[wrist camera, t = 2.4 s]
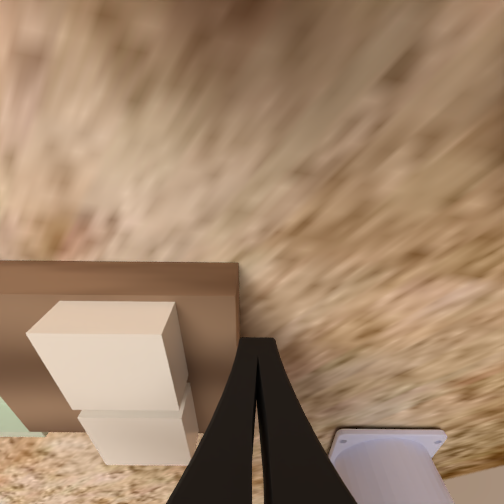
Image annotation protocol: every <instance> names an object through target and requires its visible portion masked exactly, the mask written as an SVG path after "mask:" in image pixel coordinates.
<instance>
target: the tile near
mask: <svg viewBox="0 0 504 504" xmlns="http://www.w3.org/2000/svg"><path fill="white" fill-rule="evenodd" d="M26 335H27V337H28V338H29V340H30V342H31V343H32V345H33V346H34V348H35V350H36V351H37V353H38V355H39V356H40V358H41V359H42V361H43V363H44V364H45V366H46V368H47V369H48V371H49V373H50V374H51V376H52V377H53V379H54V381H55V382H56V384H57V386H58V387H59V389H60V390H61V392H62V394H63V395H64V397H65V399H66V400H67V402H68V403H69V405H70V407H71V408H72V410H160V411H180V407H181V403H182V399H183V395H184V391H185V387H186V383H187V379H188V369H187V364H186V359H185V353H184V348H183V342H182V337H181V331H180V326H179V321H178V315H177V310H176V304H175V302H133V301H59V302H58V303H57V304H56V305H55V306H54V307H53V308H52V309H50V310H49V311H48V312H47V313H46V314H45V315H44V316H43V317H42V318H41V319H40V320H39V321H38V322H37V323H36V324H35V325H34V326H33V327H32V328H31V329H29V330H28V331H27V332H26Z"/></svg>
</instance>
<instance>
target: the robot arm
mask: <svg viewBox="0 0 504 504" xmlns="http://www.w3.org/2000/svg"><path fill="white" fill-rule="evenodd" d="M256 399H257V411H258V422H259V433H260V444H261V455H262V466H263V481H264V504H455V503H454V501H453V499H452V498H451V495H450V494H449V492H448V490H447V488H446V486H445V484H444V482H443V480H442V478H441V476H440V474H439V472H438V471H437V469H436V467H435V465H434V463H433V461H432V459H431V458H432V457H433V456H434V454H435V453H436V452H437V451H438V449H439V448H440V447H441V445H442V444H443V443H444V442H445V440H446V439H447V435H446V434H445V432H444V431H443V430H438V429H340V430H338V431H337V432H336V435H335V438H334V441H333V443H332V446H331V449H330V452H329V455H328V456H327V454H326V452H325V450H324V449H323V447H322V445H321V443H320V442H319V440H318V438H317V436H316V434H315V433H314V431H313V429H312V427H311V425H310V423H309V421H308V419H307V417H306V415H305V413H304V411H303V409H302V407H301V405H300V403H299V401H298V399H297V397H296V395H295V392H294V390H293V388H292V386H291V383H290V381H289V379H288V377H287V374H286V372H285V369H284V366H283V364H282V361H281V358H280V355H279V352H278V349H277V345H276V341H275V339H274V338H249V337H242V338H240V339H239V343H238V348H237V352H236V356H235V360H234V363H233V366H232V369H231V372H230V375H229V377H228V380H227V383H226V386H225V388H224V391H223V393H222V396H221V398H220V400H219V403H218V405H217V407H216V409H215V412H214V414H213V416H212V419H211V421H210V423H209V425H208V427H207V429H206V431H205V433H204V435H203V437H202V439H201V441H200V443H199V445H198V447H197V449H196V451H195V453H194V455H193V457H192V459H191V460H190V462H189V464H188V466H187V468H186V469H185V471H184V473H183V475H182V477H181V479H180V480H179V482H178V484H177V486H176V487H175V489H174V491H173V493H172V494H171V496H170V498H169V499H168V501H167V503H166V504H252V454H253V440H254V426H255V412H256Z"/></svg>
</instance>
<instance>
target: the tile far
mask: <svg viewBox="0 0 504 504" xmlns="http://www.w3.org/2000/svg"><path fill="white" fill-rule="evenodd" d="M77 418H78V420H79V421H80V423H81V425H82V426H83V428H84V429H85V431H86V433H87V434H88V436H89V438H90V439H91V441H92V442H93V444H94V446H95V447H96V449H97V451H98V452H99V454H100V455H101V457H102V459H103V460H104V462H105V464H106V465H177V466H188V464H189V462H190V460H191V459H192V457H193V455H194V453H195V449H196V443H197V437H198V432H199V429H198V424H197V418H196V413H195V408H194V402H193V397H192V391H191V386H190V383H186V387H185V391H184V395H183V399H182V403H181V407H180V411H160V410H82V411H81V412H80V414H79V416H78V417H77Z"/></svg>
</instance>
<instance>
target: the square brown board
mask: <svg viewBox="0 0 504 504" xmlns="http://www.w3.org/2000/svg"><path fill="white" fill-rule="evenodd" d="M59 301H133V302H175V304H176V310H177V315H178V321H179V326H180V331H181V337H182V342H183V348H184V353H185V359H186V364H187V369H188V379H187V383H190V386H191V391H192V397H193V402H194V408H195V413H196V418H197V424H198V429H199V432H198V433H205V431H206V429H207V427H208V425H209V423H210V421H211V419H212V416H213V414H214V412H215V409H216V407H217V405H218V403H219V400H220V398H221V396H222V393H223V391H224V388H225V386H226V383H227V380H228V377H229V375H230V372H231V369H232V366H233V363H234V360H235V356H236V352H237V348H238V343H239V339H240V316H239V267H238V263H198V262H92V261H0V397H1V398H2V399H3V400H4V401H5V403H6V404H7V405H8V406H9V407H10V409H11V410H12V411H13V412H14V413H15V415H16V416H17V417H18V418H19V419H20V421H21V422H22V423H23V424H24V425H25V427H26V428H27V429H28V430H29V432H86V431H85V429H84V428H83V426H82V425H81V423H80V421H79V420H78V418H77V417H78V416H79V414H80V412H81V411H82V410H72V408H71V407H70V405H69V403H68V402H67V400H66V399H65V397H64V395H63V394H62V392H61V390H60V389H59V387H58V386H57V384H56V382H55V381H54V379H53V377H52V376H51V374H50V373H49V371H48V369H47V368H46V366H45V364H44V363H43V361H42V359H41V358H40V356H39V355H38V353H37V351H36V350H35V348H34V346H33V345H32V343H31V342H30V340H29V338H28V337H27V335H26V332H27V331H28V330H29V329H31V328H32V327H33V326H34V325H35V324H36V323H37V322H38V321H39V320H40V319H41V318H42V317H43V316H44V315H45V314H46V313H47V312H48V311H49V310H50V309H52V308H53V307H54V306H55V305H56V304H57V303H58V302H59Z"/></svg>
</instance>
